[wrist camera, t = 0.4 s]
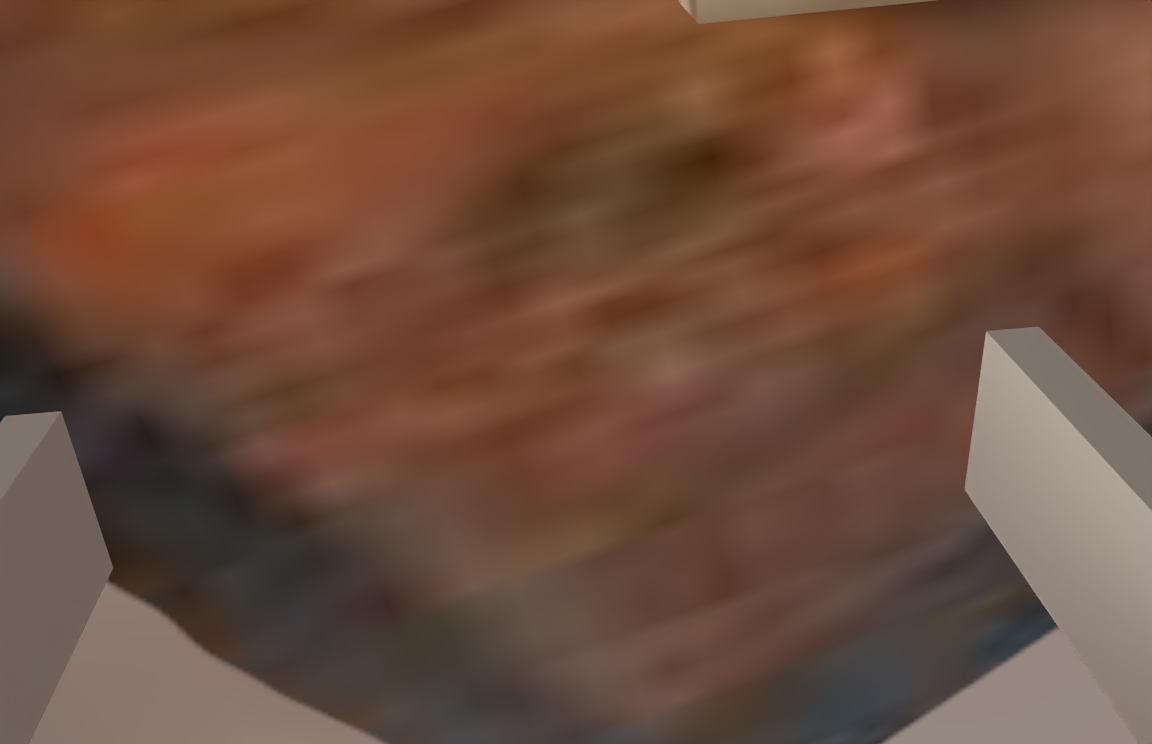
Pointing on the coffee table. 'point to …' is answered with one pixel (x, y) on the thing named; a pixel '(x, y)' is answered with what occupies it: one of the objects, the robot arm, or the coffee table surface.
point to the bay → (771, 7)
